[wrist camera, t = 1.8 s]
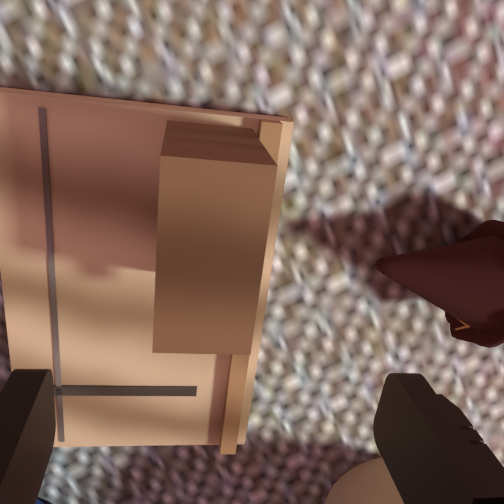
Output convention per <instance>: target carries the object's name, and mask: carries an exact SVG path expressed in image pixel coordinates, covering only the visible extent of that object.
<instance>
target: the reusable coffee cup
mask: <svg viewBox="0 0 504 504" xmlns="http://www.w3.org/2000/svg"><path fill="white" fill-rule="evenodd" d="M326 504H404V502H403V500H402V498H401V496H400V494H399V492H398V490H397V488H396V486H395V483H394V481H393V479H392V477H391V475H390V473H389V471H388V469H387V467H386V464H385V462H384V460H383V458H382V457H380V458H376V459H372V460H369V461H366V462H364V463H361V464H359V465H357V466H355V467H354V468H352V469H350V470H349V471H347V472H346V473H345V474H344V475H342V476H341V477H340V478H339V479H338V480H337V481H336V482H335V483H334V485H333V486H332V488H331V489H330V491H329V493H328V496H327V499H326Z"/></svg>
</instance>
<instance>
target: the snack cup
mask: <svg viewBox="0 0 504 504" xmlns="http://www.w3.org/2000/svg"><path fill="white" fill-rule="evenodd" d="M35 504H45V503H44V502H42V501H41V500H39V499H38V498H37V500H36V503H35Z"/></svg>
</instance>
